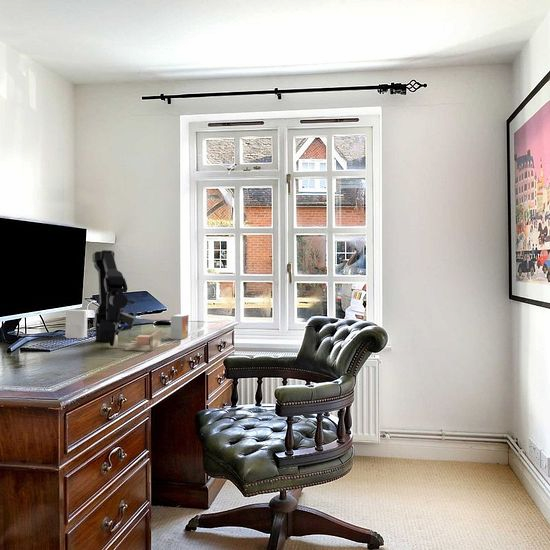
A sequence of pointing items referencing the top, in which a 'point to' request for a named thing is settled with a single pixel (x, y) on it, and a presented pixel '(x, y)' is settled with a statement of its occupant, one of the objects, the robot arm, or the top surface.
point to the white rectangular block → (76, 324)
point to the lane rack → (154, 342)
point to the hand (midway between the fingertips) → (113, 345)
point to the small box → (179, 326)
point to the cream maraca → (140, 341)
